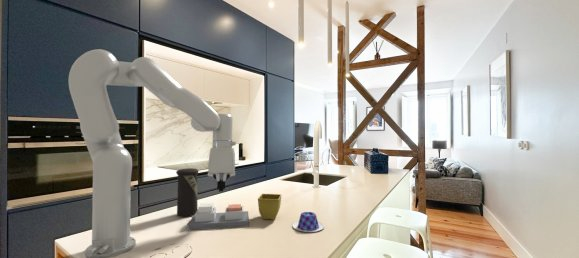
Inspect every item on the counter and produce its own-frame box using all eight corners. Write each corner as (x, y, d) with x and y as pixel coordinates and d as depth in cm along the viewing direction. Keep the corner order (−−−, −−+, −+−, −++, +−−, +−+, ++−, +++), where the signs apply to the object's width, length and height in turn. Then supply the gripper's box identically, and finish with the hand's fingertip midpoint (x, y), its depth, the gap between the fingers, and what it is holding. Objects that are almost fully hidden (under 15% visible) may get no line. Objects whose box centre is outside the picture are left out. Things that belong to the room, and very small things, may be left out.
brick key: (240, 215, 98) (241, 207, 98) (227, 216, 97) (227, 208, 97) (240, 211, 103) (241, 204, 103) (228, 212, 102) (228, 204, 102)
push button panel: (248, 226, 95) (249, 212, 95) (188, 230, 91) (188, 216, 91) (248, 215, 107) (248, 204, 107) (194, 219, 103) (194, 207, 103)
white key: (211, 214, 96) (212, 206, 96) (198, 215, 95) (198, 207, 95) (213, 210, 101) (213, 202, 101) (200, 211, 100) (200, 203, 100)
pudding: (323, 235, 88) (323, 220, 88) (290, 232, 90) (290, 218, 90) (324, 223, 100) (324, 209, 100) (294, 221, 102) (294, 208, 102)
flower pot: (281, 214, 109) (281, 194, 109) (278, 221, 100) (278, 199, 100) (261, 214, 110) (261, 193, 110) (257, 221, 101) (257, 198, 101)
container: (193, 217, 104) (193, 170, 105) (172, 217, 105) (172, 169, 105) (201, 211, 113) (201, 167, 114) (181, 211, 113) (182, 167, 114)
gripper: (241, 144, 105) (240, 188, 104) (204, 144, 102) (203, 189, 102) (241, 145, 97) (240, 192, 97) (201, 144, 95) (199, 193, 94)
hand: (221, 190), depth 99 cm, fingers closed
